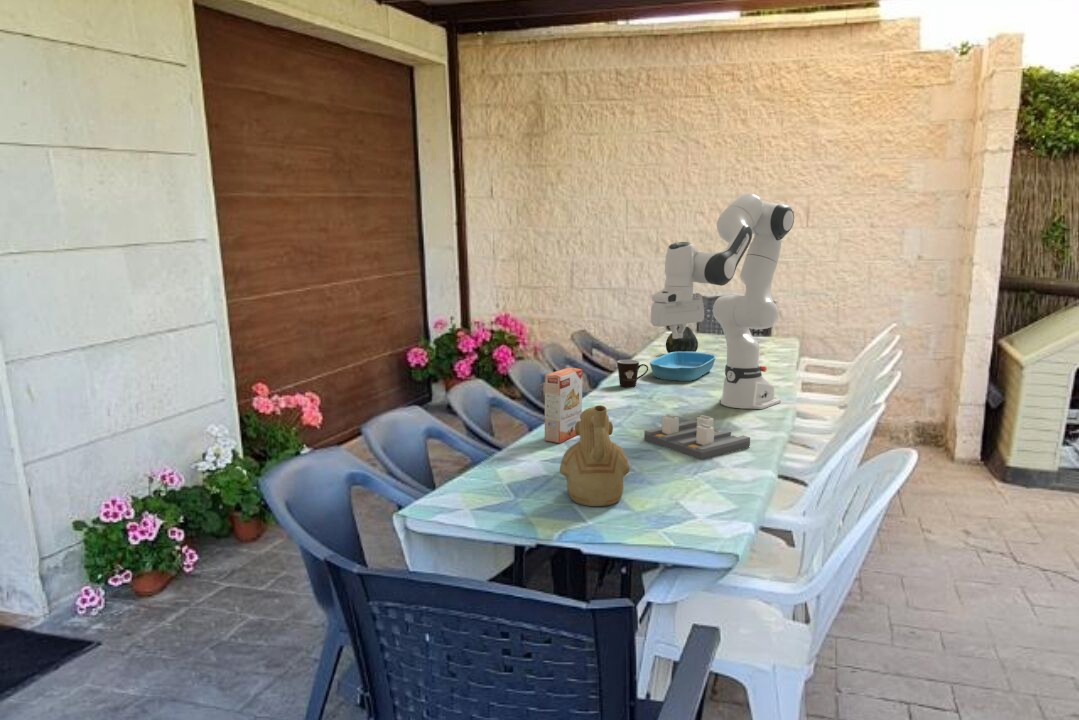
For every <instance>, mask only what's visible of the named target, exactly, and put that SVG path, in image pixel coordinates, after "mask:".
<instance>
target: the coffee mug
mask: <svg viewBox="0 0 1079 720" xmlns="http://www.w3.org/2000/svg"><path fill="white" fill-rule="evenodd" d="M616 363H617V371H618V372H617V373H618V380H619V381H618V383H619V387H620V388H623V387H624V388H625V389H629V388H628V387H633V388H636V387H637V381H638V380H639V379H640V378H642V377H643V376H645V375H646V374H647V372H648V371H649V367H648V365H647V364H645V363H642V364H640V361H639V360H636V359H620V360H617V362H616ZM643 366H644V367H645V368H646V370H645V371H644V372H643V373H642V374H640V375H639V376H638V374H639V373H638V372H639V369H640V368H641V367H643ZM635 386H636V387H635Z"/></svg>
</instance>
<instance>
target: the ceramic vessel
mask: <svg viewBox="0 0 1079 720" xmlns="http://www.w3.org/2000/svg"><path fill="white" fill-rule="evenodd" d="M607 410H608V409H607V407H606V406H605V405H598V404H597V405H595V406H593V407H589V408H586V409H584V410H582V413H581V415H580V419H581V421H578V422H577V423H576V424H575V433H576V436H579V440H578V441H577V442H576V443H574V444H572V445H570V446H569V447H568V448H567V449H566V451H565V452H564V454H563V457H562V459H561V462H560V466H559V473H560V474H561V475H562V476H564V477H565V478H566V487H567V488H566V489H567V493H568V495H569V497H570V498H571V500H573V501H574V502H575V503H577V504H579V505H582V506H587V507H607V506H611V505H614V504H616V503H618V502H619V501H620V500H621V498H622V496H623V493H624V477H625V476H626V475H628V473H630V469H631V468H630V463H629V460H628V458H627V454H626V453H625V452H624V450H623V448H622V447H621V446H620V445H619V444H616V443H614V442H613V441H611V437H610V436H611V435H612V434H613V432H614V431H613V430H614V427H613V426H614V425H613V423H612V421H609V420H610V419H609V418H610V417H609V415H608V413H607Z"/></svg>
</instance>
